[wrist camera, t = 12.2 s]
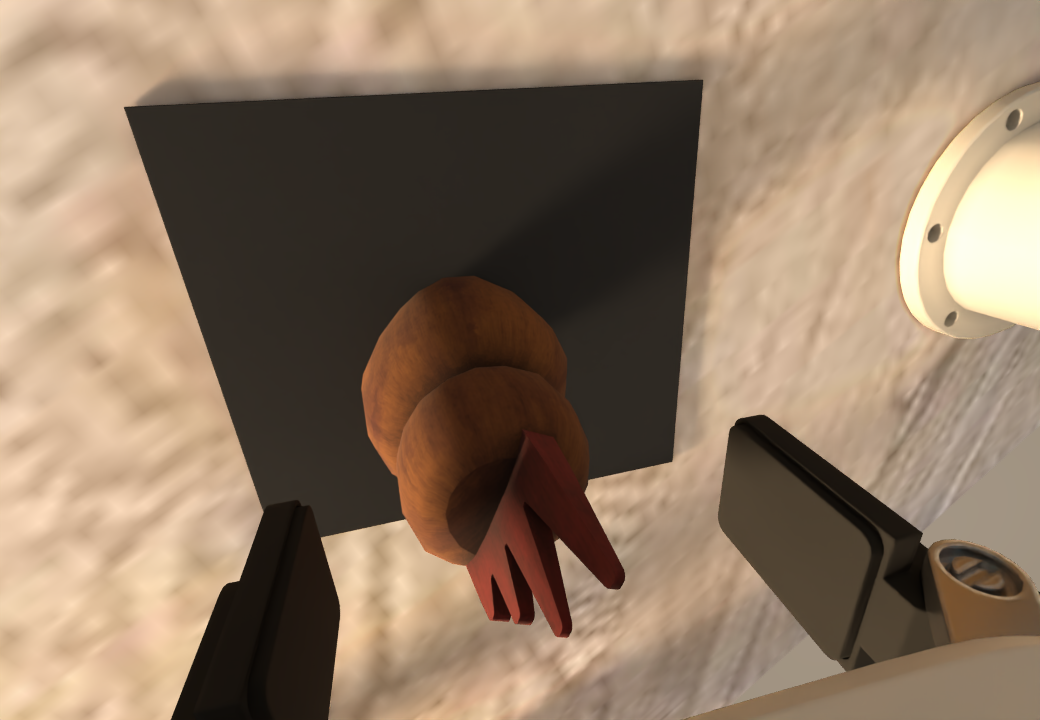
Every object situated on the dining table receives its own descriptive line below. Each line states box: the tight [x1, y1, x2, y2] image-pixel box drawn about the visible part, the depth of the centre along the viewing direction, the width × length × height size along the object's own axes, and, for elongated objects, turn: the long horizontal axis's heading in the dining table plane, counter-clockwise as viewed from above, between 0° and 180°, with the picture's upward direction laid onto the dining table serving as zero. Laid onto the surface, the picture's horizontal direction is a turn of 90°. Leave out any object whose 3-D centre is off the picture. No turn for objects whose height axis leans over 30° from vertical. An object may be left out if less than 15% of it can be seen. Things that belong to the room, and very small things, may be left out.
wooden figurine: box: [361, 276, 625, 638], centre depth 14 cm, size 7×6×15 cm
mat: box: [124, 80, 703, 537], centre depth 21 cm, size 20×18×1 cm
